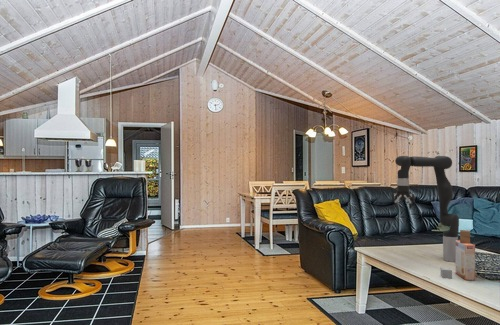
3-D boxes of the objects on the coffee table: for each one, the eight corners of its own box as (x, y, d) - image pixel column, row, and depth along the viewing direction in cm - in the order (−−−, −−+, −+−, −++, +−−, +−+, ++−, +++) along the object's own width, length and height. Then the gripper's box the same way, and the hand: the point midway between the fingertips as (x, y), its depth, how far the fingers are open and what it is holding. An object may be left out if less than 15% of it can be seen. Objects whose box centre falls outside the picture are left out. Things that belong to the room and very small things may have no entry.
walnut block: (460, 241, 219) (460, 229, 219) (469, 242, 216) (469, 230, 217) (460, 242, 215) (460, 231, 215) (470, 243, 212) (470, 231, 212)
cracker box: (475, 280, 208) (475, 245, 208) (464, 280, 209) (464, 244, 209) (465, 273, 222) (465, 240, 222) (455, 273, 223) (455, 239, 223)
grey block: (440, 275, 218) (440, 267, 218) (449, 276, 217) (449, 268, 217) (442, 278, 213) (442, 269, 213) (452, 278, 212) (452, 270, 212)
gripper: (414, 184, 244) (415, 208, 244) (392, 184, 251) (392, 207, 251) (413, 185, 238) (414, 209, 237) (391, 184, 245) (391, 208, 244)
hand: (403, 208), depth 244 cm, fingers open, 8 cm apart
